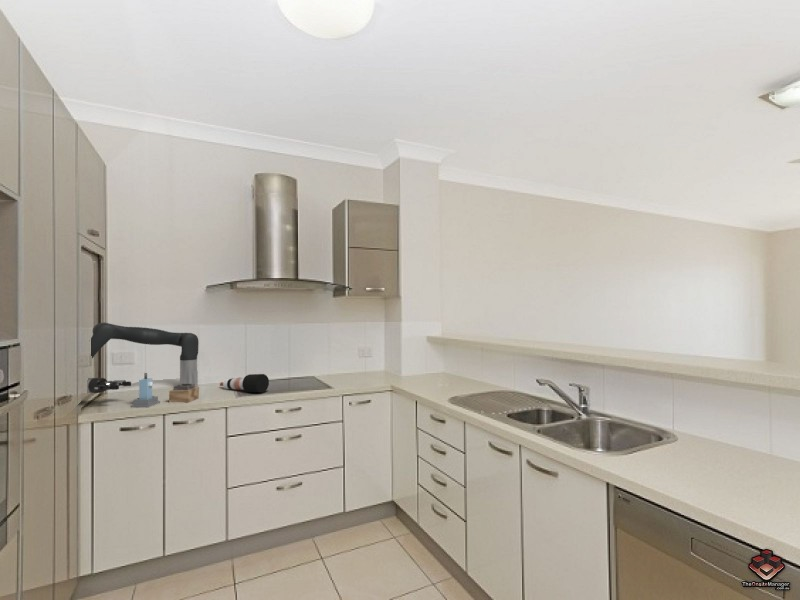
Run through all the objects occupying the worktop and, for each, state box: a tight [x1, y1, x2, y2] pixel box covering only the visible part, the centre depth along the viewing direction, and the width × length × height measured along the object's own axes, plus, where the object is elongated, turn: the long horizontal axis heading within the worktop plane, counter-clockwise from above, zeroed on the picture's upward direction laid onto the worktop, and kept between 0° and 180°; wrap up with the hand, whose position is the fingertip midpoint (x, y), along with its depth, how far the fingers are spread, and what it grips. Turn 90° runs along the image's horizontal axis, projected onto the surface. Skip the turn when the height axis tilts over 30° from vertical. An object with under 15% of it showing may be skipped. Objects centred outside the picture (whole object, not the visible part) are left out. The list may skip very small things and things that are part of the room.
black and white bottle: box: [219, 373, 270, 393], centre depth 235 cm, size 10×34×10 cm, turn 60°
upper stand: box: [168, 383, 200, 404], centre depth 212 cm, size 10×10×8 cm
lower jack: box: [130, 395, 161, 408], centre depth 202 cm, size 9×9×4 cm
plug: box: [138, 372, 154, 399], centre depth 202 cm, size 4×5×15 cm
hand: (124, 385), depth 203 cm, fingers open, 8 cm apart
